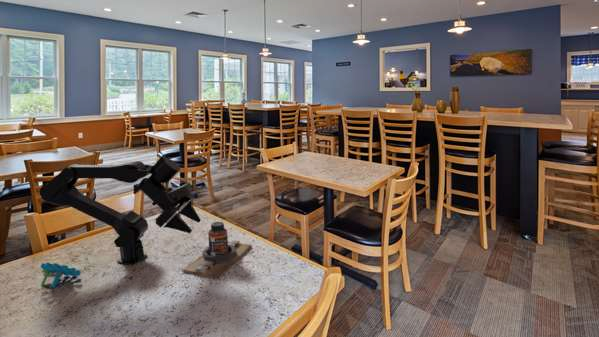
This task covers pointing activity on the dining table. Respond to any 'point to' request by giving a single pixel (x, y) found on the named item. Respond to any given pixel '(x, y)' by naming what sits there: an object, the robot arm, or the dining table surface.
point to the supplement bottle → (218, 240)
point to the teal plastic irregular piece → (57, 272)
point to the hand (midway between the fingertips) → (195, 226)
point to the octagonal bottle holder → (217, 261)
